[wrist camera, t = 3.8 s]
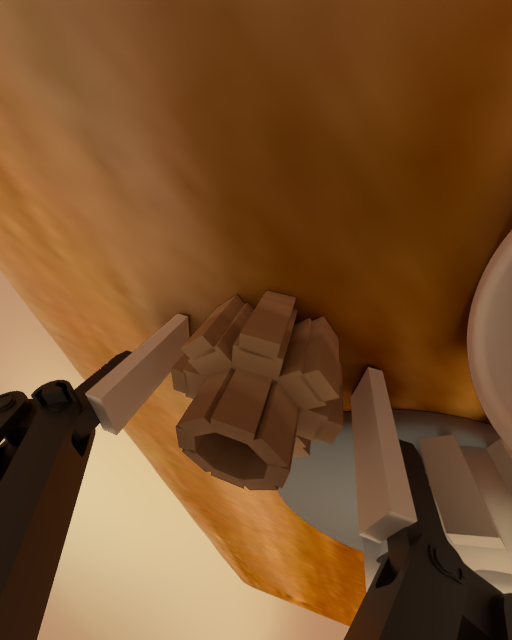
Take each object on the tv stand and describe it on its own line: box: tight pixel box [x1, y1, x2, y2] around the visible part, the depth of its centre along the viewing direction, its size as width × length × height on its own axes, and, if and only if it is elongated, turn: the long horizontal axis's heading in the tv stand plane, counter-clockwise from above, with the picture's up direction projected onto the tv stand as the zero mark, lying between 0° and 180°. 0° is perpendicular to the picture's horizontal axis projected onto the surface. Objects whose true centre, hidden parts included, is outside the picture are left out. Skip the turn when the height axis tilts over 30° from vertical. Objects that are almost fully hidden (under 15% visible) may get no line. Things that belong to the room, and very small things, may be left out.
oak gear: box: [171, 290, 343, 490], centre depth 11 cm, size 8×8×6 cm
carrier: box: [278, 410, 512, 594], centre depth 15 cm, size 21×20×6 cm
